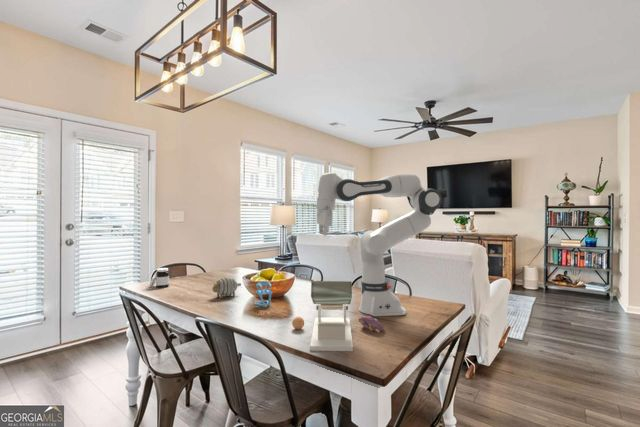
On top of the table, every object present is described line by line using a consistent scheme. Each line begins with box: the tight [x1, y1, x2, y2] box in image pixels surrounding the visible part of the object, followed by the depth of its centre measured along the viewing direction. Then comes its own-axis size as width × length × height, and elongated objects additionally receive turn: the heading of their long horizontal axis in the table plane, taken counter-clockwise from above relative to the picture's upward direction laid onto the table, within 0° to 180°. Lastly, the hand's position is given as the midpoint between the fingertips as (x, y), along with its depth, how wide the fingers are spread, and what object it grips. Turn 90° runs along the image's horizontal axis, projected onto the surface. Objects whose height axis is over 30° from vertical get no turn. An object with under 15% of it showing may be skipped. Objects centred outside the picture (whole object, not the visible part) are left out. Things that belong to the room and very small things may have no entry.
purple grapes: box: [358, 314, 385, 332], centre depth 136 cm, size 10×5×7 cm, turn 45°
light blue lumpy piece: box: [253, 280, 273, 308], centre depth 173 cm, size 8×8×12 cm
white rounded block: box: [149, 267, 170, 289], centre depth 216 cm, size 12×11×12 cm
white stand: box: [309, 304, 354, 352], centre depth 131 cm, size 32×15×8 cm, turn 177°
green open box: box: [310, 280, 353, 311], centre depth 132 cm, size 30×15×6 cm, turn 177°
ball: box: [291, 316, 305, 330], centre depth 137 cm, size 5×5×5 cm
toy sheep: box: [212, 276, 242, 299], centre depth 190 cm, size 11×17×11 cm, turn 133°
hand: (322, 234), depth 160 cm, fingers open, 8 cm apart
